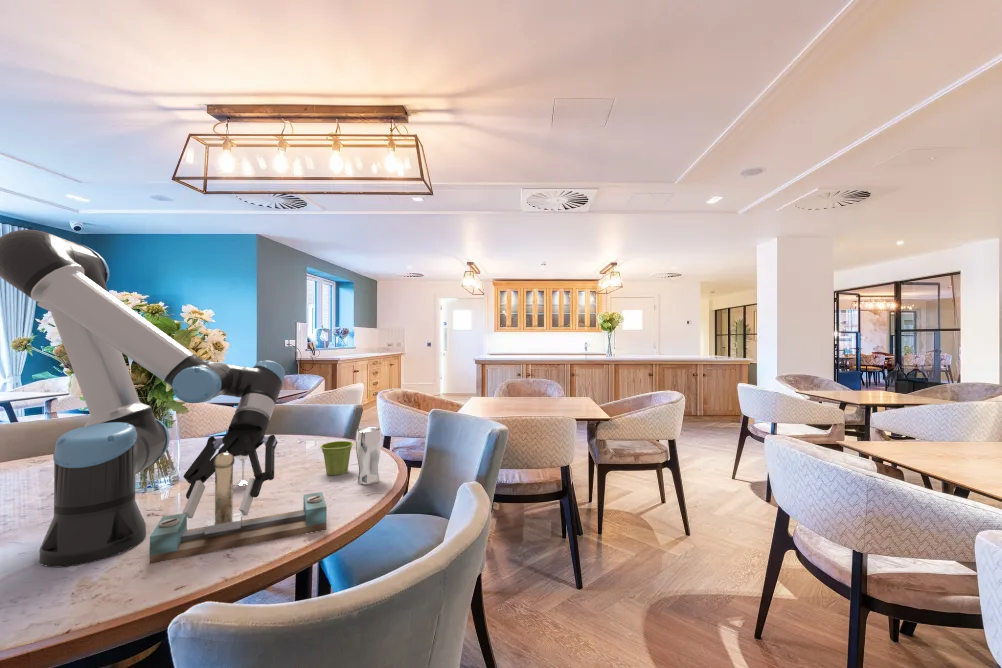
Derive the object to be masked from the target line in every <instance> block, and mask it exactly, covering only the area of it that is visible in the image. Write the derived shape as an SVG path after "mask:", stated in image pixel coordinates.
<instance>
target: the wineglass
mask: <svg viewBox="0 0 1002 668" xmlns="http://www.w3.org/2000/svg"><path fill="white" fill-rule="evenodd" d="M234 458H235V459H238V460H239V461H240V462H241V477H242V478H241V479H240V480H238V481H234V482H233V484H234V485H233V486H236V485H239V486H244V485H243V484H246V485H248V484H247V483H248V482H249V479H245V464H246V463H245V462H246V460H247V459H248V458H249V455H248V456H242V455H239V456H234Z"/></svg>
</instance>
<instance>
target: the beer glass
mask: <svg viewBox="0 0 1002 668" xmlns="http://www.w3.org/2000/svg"><path fill="white" fill-rule="evenodd" d="M355 438H356V439H355V451H356V452H355V453H356V458H357V465H358V477H357V484H358V483H359V485H360V484H363V485H362V486H368V485H367V484H371V485H375V484H378V483H379V482H380V474H379V462H380V457H381V456H380V455H381V451H382V433H381V428H380V427H376V426H375V427H373V426H371V427H362V428H358V429H357V430H356V436H355Z"/></svg>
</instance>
